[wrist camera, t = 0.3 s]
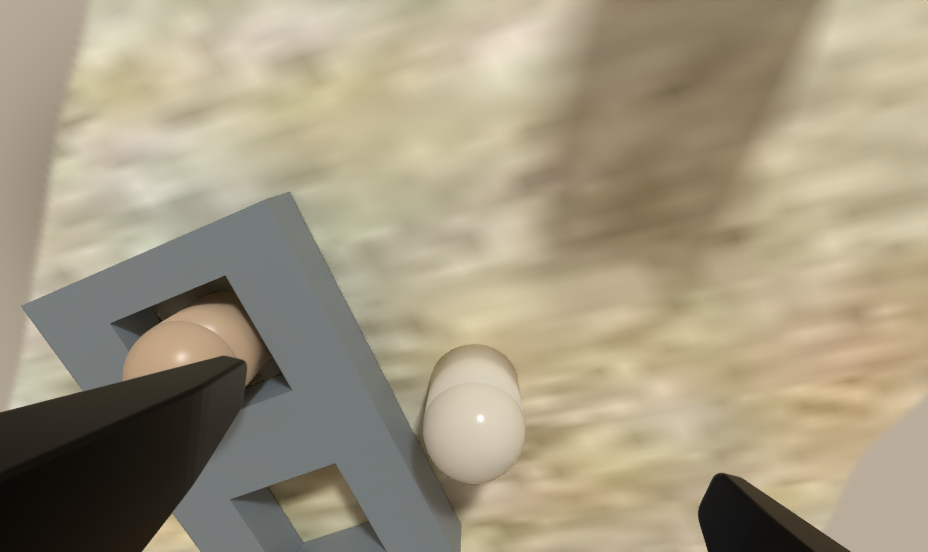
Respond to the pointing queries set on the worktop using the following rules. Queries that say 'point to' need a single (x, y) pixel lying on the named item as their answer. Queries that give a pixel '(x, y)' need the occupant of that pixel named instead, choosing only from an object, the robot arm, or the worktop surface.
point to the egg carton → (267, 403)
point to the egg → (474, 415)
